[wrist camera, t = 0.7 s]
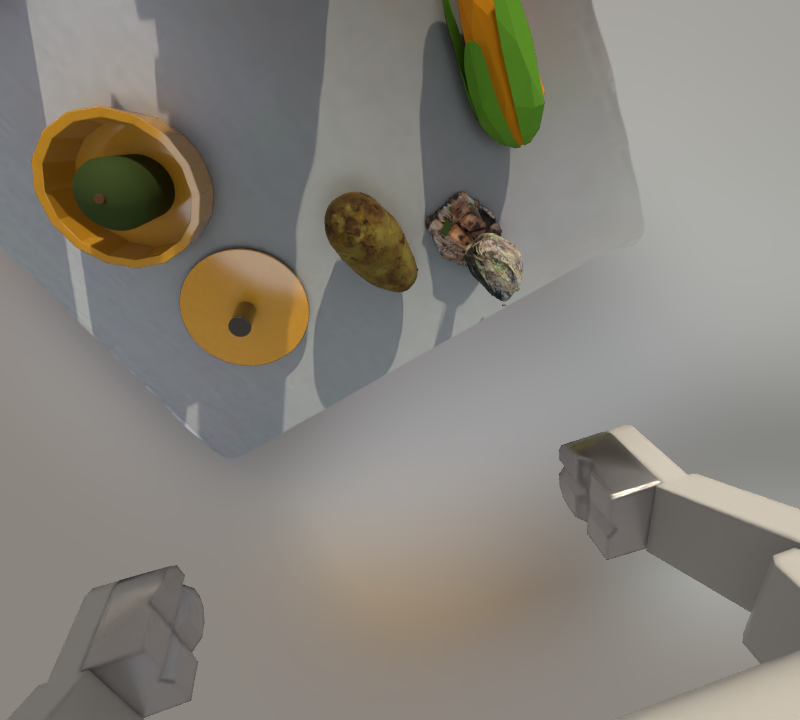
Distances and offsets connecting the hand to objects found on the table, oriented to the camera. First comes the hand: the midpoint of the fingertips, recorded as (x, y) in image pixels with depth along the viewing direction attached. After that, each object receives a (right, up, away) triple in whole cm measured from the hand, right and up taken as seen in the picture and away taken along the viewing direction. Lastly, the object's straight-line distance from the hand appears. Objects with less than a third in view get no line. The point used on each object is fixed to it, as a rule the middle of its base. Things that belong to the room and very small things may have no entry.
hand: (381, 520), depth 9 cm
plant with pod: (+9, +18, +45) cm, 49 cm away
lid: (-18, +9, +44) cm, 48 cm away
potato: (-3, +18, +43) cm, 47 cm away
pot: (-26, +21, +37) cm, 50 cm away
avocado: (-26, +21, +36) cm, 50 cm away
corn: (+9, +36, +36) cm, 52 cm away
